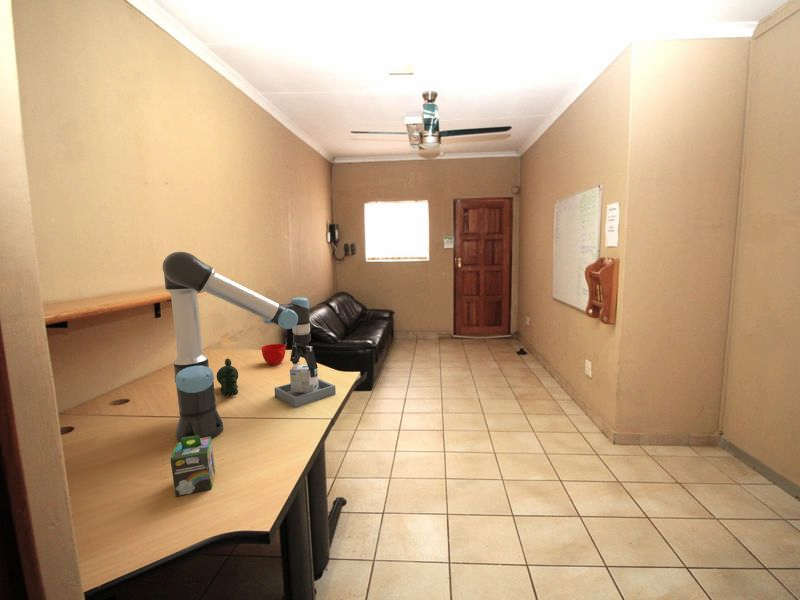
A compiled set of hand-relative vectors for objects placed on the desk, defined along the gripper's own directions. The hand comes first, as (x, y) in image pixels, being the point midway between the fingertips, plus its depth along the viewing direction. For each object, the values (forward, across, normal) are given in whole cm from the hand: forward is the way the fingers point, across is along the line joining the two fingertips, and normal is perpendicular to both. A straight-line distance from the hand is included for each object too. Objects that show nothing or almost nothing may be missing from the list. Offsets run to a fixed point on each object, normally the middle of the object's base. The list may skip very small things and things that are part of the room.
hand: (304, 380), depth 173 cm
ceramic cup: (+7, +54, -13) cm, 56 cm away
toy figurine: (+7, +30, +22) cm, 38 cm away
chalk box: (+7, -36, +56) cm, 67 cm away
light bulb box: (+5, 0, 0) cm, 5 cm away
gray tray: (+7, 0, 0) cm, 7 cm away
